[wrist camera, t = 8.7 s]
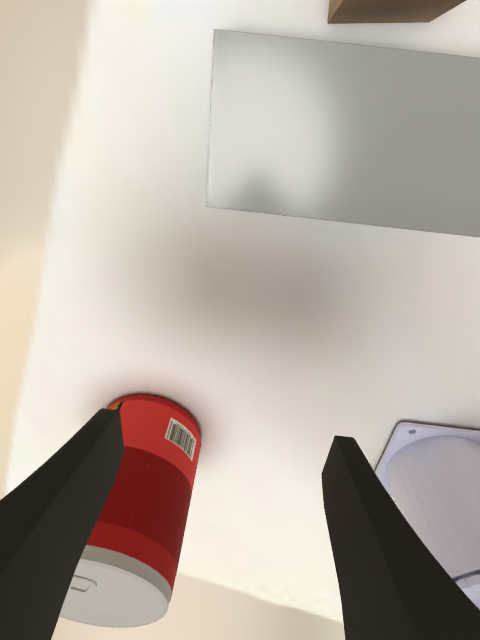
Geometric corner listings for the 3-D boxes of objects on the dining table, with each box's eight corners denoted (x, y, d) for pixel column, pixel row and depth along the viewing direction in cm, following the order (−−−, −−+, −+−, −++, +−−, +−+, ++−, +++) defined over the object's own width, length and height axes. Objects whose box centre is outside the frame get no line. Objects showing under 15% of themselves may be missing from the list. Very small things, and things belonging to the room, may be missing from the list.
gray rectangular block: (507, 76, 14) (560, 66, 12) (449, 219, 17) (481, 237, 15) (223, 44, 14) (213, 28, 12) (215, 193, 17) (206, 206, 15)
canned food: (103, 380, 24) (1, 545, 15) (212, 405, 25) (180, 578, 16) (100, 448, 28) (17, 613, 19) (194, 468, 29) (160, 638, 19)
